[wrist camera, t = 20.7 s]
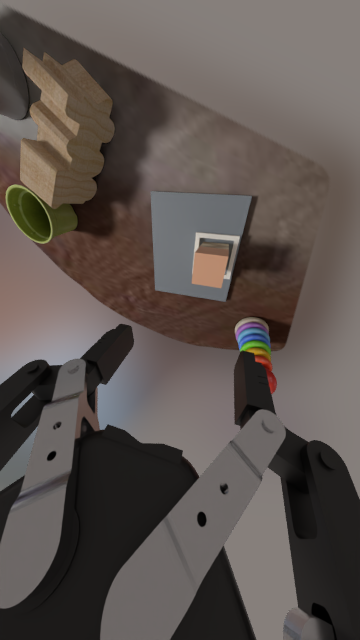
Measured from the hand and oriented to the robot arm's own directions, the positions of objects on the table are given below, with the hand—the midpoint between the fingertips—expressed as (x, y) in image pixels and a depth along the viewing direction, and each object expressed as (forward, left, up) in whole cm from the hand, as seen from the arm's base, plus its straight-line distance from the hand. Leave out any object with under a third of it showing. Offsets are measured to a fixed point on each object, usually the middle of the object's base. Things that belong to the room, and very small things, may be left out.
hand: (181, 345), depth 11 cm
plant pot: (-36, +5, -28) cm, 46 cm away
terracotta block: (0, 0, -22) cm, 22 cm away
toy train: (-26, +15, -28) cm, 41 cm away
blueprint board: (-4, 0, -28) cm, 28 cm away
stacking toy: (+12, -17, -28) cm, 35 cm away
